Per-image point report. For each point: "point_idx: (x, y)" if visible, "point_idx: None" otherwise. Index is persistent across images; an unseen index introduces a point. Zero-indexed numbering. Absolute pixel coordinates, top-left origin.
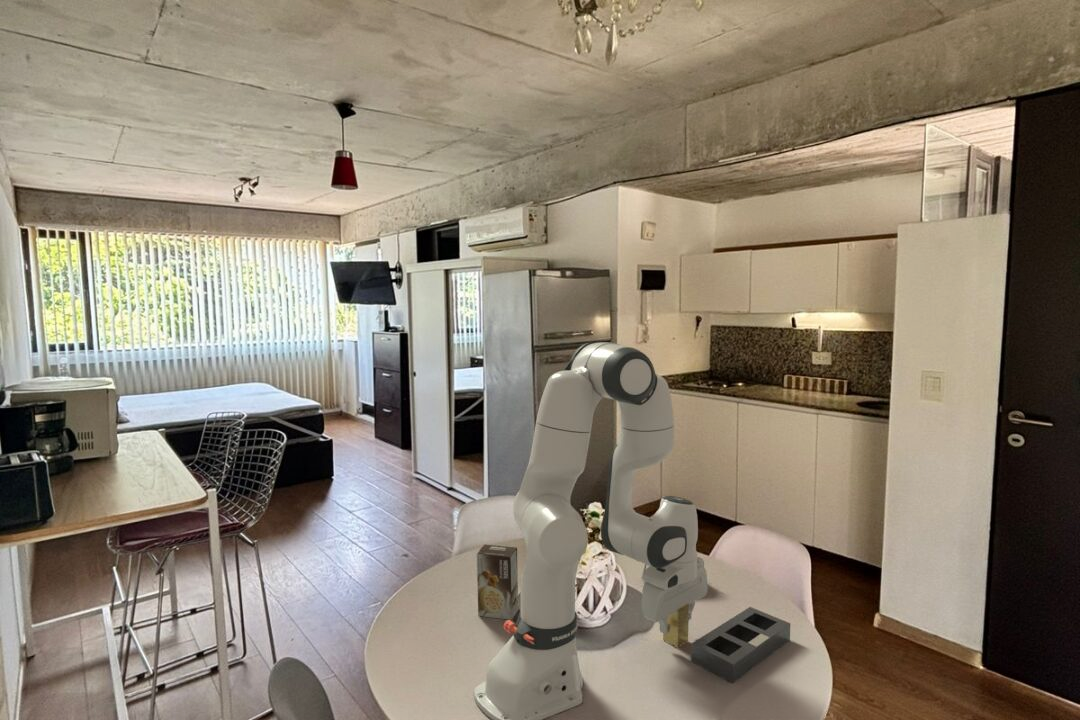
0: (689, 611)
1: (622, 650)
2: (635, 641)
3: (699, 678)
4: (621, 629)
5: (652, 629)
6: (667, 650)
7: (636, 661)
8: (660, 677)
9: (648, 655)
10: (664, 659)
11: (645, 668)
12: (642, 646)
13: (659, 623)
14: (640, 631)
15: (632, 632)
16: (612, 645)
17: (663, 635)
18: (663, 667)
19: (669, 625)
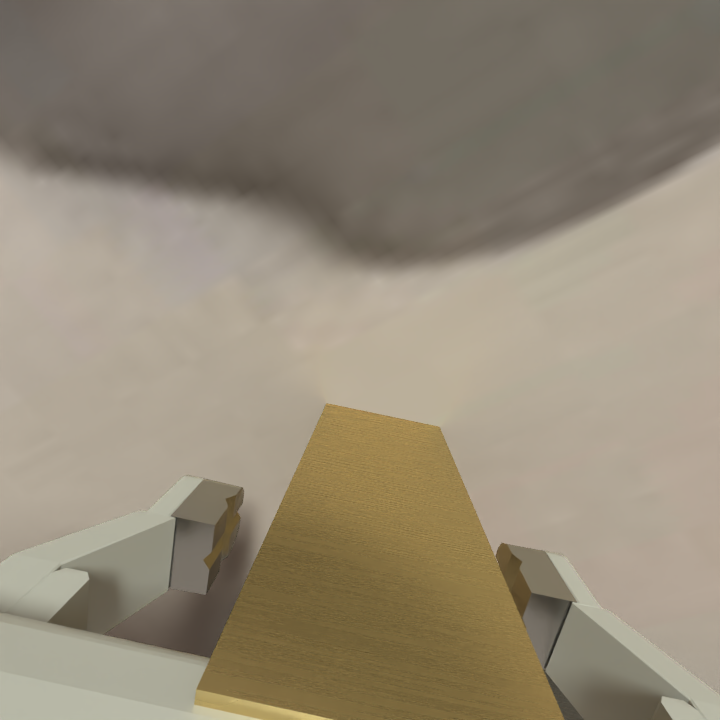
0: (566, 677)
1: (47, 244)
2: (194, 261)
3: None
4: (259, 81)
5: (407, 283)
6: (244, 468)
7: (23, 374)
8: (9, 534)
9: (122, 403)
10: (155, 490)
11: (10, 444)
12: (176, 328)
13: (128, 518)
14: (328, 223)
15: (278, 180)
16: (41, 152)
17: (320, 417)
18: (89, 514)
19: (196, 589)
